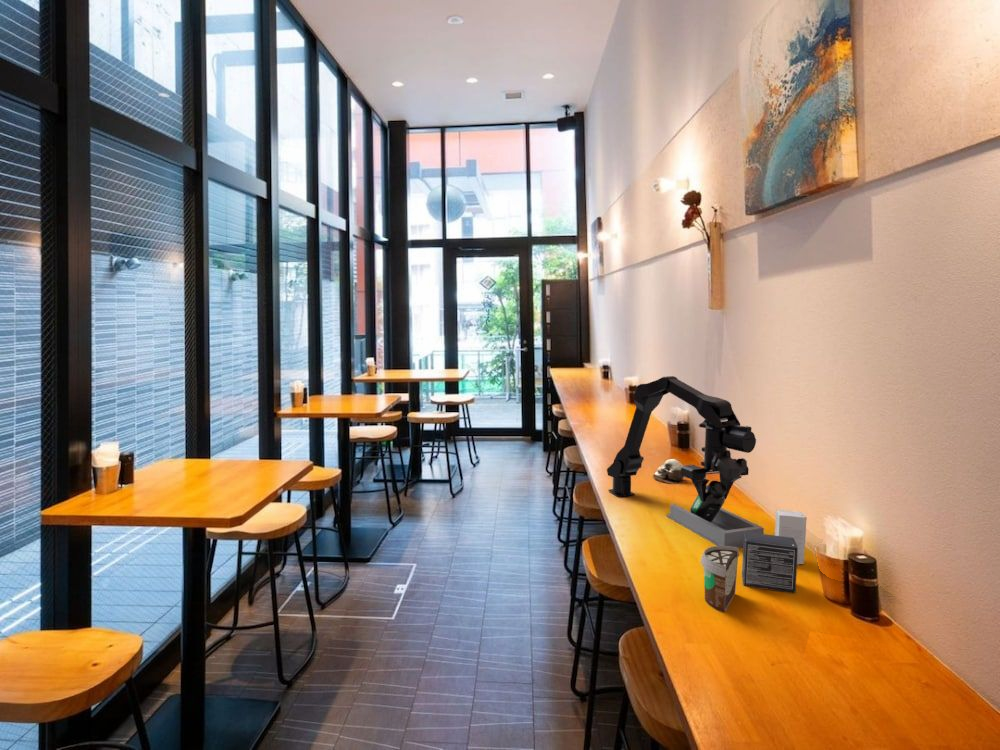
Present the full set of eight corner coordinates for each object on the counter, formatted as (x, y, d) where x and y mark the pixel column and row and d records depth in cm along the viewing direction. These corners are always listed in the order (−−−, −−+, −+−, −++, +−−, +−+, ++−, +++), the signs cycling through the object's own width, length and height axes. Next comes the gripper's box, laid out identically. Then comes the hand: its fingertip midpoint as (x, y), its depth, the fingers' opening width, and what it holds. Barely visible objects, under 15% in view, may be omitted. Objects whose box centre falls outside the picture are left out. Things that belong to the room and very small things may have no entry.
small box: (791, 581, 128) (794, 536, 127) (796, 594, 122) (799, 547, 121) (741, 573, 131) (743, 530, 130) (743, 586, 125) (745, 540, 124)
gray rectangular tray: (666, 516, 168) (666, 503, 168) (702, 511, 172) (703, 498, 172) (724, 549, 145) (725, 534, 144) (765, 543, 149) (766, 528, 148)
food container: (707, 583, 126) (709, 540, 125) (736, 591, 123) (739, 546, 122) (691, 606, 116) (693, 559, 115) (722, 615, 113) (725, 567, 112)
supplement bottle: (688, 517, 161) (704, 490, 154) (691, 501, 167) (707, 474, 159) (711, 527, 160) (729, 500, 153) (714, 511, 165) (731, 483, 158)
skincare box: (799, 558, 140) (802, 511, 139) (804, 565, 136) (807, 517, 135) (772, 555, 141) (775, 509, 140) (776, 562, 137) (779, 515, 136)
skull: (645, 477, 205) (655, 453, 210) (655, 491, 212) (664, 467, 216) (676, 483, 197) (685, 458, 202) (686, 497, 203) (694, 473, 208)
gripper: (707, 454, 146) (704, 513, 147) (764, 449, 152) (761, 506, 153) (680, 445, 156) (678, 500, 158) (735, 441, 162) (732, 494, 164)
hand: (713, 500), depth 158 cm, fingers closed on supplement bottle, 7 cm apart
